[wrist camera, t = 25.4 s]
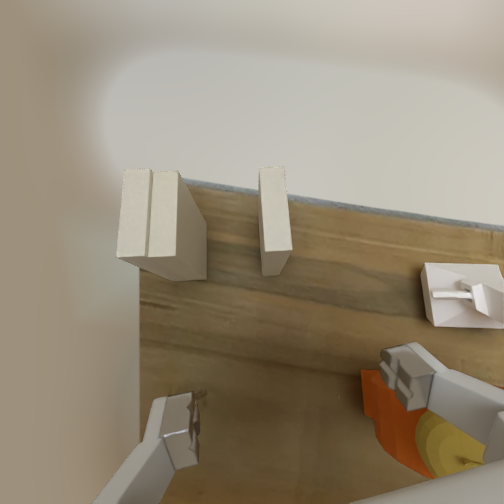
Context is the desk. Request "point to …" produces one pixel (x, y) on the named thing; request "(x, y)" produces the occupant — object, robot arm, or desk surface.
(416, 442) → the alarm clock
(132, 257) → the white books
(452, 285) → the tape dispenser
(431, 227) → the desk surface
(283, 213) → the white book
